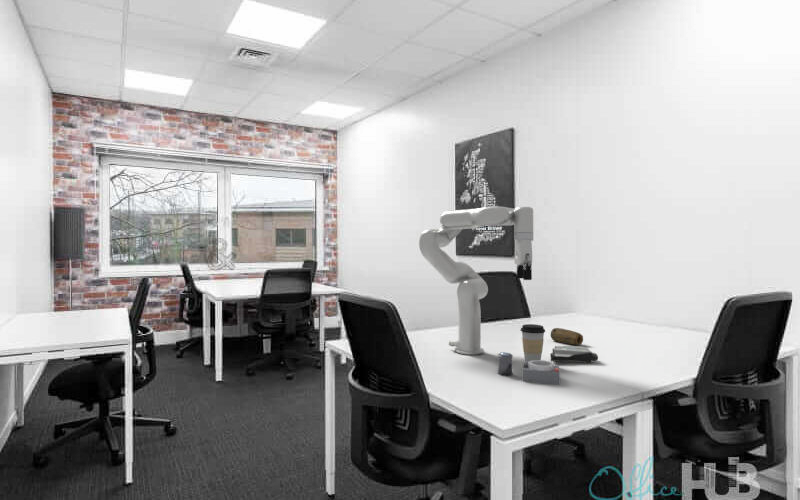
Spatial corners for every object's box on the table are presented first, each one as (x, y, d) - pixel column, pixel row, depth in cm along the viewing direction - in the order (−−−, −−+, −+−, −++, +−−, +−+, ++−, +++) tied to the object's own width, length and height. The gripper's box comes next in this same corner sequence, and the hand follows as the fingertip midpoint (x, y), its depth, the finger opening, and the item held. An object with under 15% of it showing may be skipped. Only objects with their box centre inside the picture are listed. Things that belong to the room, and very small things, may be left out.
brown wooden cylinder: (548, 341, 230) (548, 328, 230) (556, 340, 234) (556, 326, 234) (576, 347, 218) (576, 332, 218) (584, 345, 223) (585, 331, 222)
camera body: (522, 381, 163) (522, 364, 163) (523, 374, 172) (523, 358, 171) (559, 384, 159) (559, 367, 159) (558, 377, 168) (558, 361, 168)
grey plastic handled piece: (602, 364, 188) (602, 351, 188) (553, 365, 185) (553, 351, 185) (581, 355, 204) (581, 342, 204) (536, 355, 201) (536, 343, 201)
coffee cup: (532, 368, 180) (532, 328, 180) (515, 362, 189) (515, 325, 188) (550, 365, 185) (550, 326, 184) (533, 360, 193) (533, 323, 193)
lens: (497, 375, 170) (497, 354, 170) (498, 371, 175) (499, 351, 175) (511, 376, 169) (511, 355, 169) (512, 372, 174) (512, 352, 174)
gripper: (509, 237, 202) (509, 277, 203) (520, 236, 185) (520, 280, 185) (526, 237, 203) (527, 277, 203) (539, 236, 185) (539, 280, 185)
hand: (524, 279), depth 194 cm, fingers open, 9 cm apart
